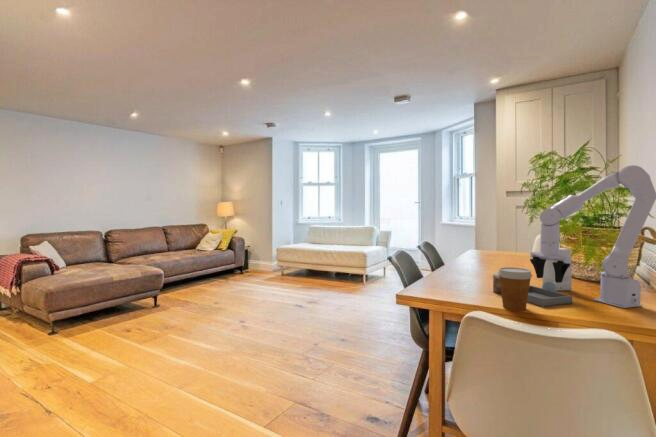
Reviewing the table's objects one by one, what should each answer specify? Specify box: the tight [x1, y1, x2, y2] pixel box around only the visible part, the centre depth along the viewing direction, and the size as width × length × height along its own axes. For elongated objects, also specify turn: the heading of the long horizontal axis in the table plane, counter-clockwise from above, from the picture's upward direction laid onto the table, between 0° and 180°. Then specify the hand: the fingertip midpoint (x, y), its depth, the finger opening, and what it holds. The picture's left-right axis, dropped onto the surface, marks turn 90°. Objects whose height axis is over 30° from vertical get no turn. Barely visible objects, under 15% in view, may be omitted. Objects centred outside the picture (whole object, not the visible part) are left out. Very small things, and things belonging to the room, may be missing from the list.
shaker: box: [492, 273, 502, 295], centre depth 125 cm, size 5×5×6 cm
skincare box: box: [541, 247, 573, 292], centre depth 131 cm, size 8×7×16 cm
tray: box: [527, 284, 573, 308], centre depth 116 cm, size 16×12×2 cm
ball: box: [541, 282, 557, 292], centre depth 122 cm, size 4×4×4 cm
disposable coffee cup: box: [497, 266, 533, 312], centre depth 106 cm, size 10×10×12 cm
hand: (549, 280), depth 122 cm, fingers open, 7 cm apart
